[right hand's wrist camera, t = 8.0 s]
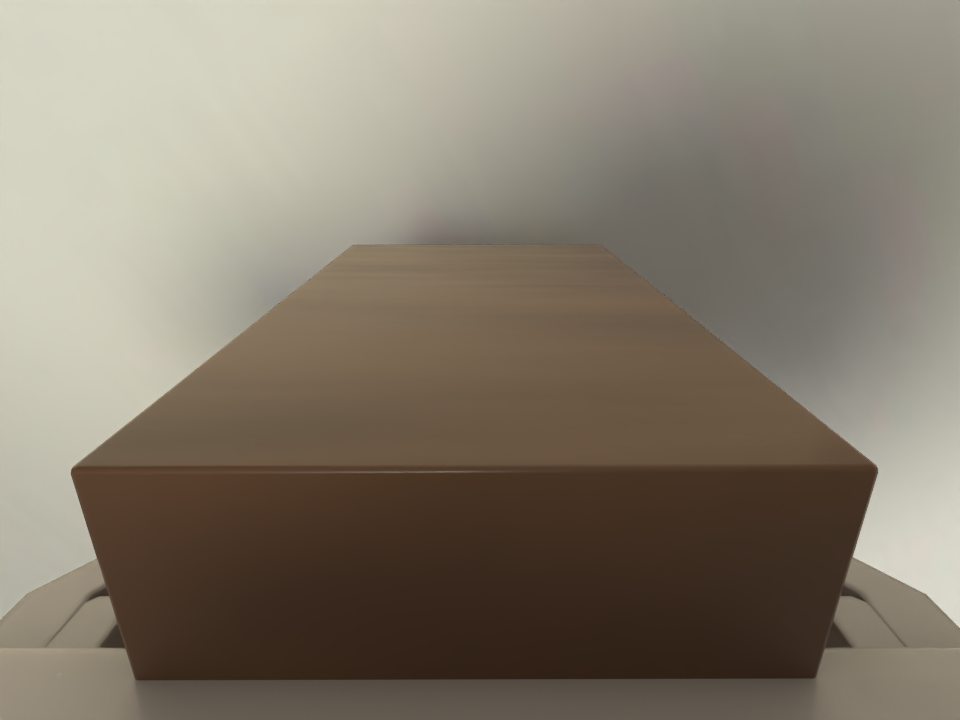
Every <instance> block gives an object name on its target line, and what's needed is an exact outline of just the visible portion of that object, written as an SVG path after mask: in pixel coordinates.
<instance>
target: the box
mask: <svg viewBox="0 0 960 720" xmlns="http://www.w3.org/2000/svg"><path fill="white" fill-rule="evenodd" d="M877 474H878V468H877V466H876V465H875V464H874V463H873V462H871V461H870V460H869V459H868V458H866V457H865V456H864V455H863V454H861V453H860V452H859V451H858V450H856V449H855V448H854V447H853V446H851V445H850V444H849V443H848V442H846V441H845V440H844V439H843V438H841V437H840V436H839V435H838V434H836V433H835V432H834V431H833V430H831V429H830V428H829V427H828V426H826V425H825V424H824V423H823V422H821V421H820V420H819V419H818V418H816V417H815V416H814V415H813V414H811V413H810V412H809V411H808V410H806V409H805V408H804V407H803V406H801V405H800V404H799V403H798V402H796V401H795V400H794V399H793V398H792V397H790V396H789V395H788V394H787V393H785V392H784V391H783V390H782V389H780V388H779V387H778V386H777V385H775V384H774V383H773V382H772V381H770V380H769V379H768V378H767V377H765V376H764V375H763V374H762V373H760V372H759V371H758V370H757V369H755V368H754V367H753V366H752V365H750V364H749V363H748V362H747V361H745V360H744V359H743V358H742V357H740V356H739V355H738V354H737V353H735V352H734V351H733V350H732V349H730V348H729V347H728V346H727V345H725V344H724V343H723V342H722V341H720V340H719V339H718V338H717V337H715V336H714V335H713V334H712V333H710V332H709V331H708V330H707V329H705V328H704V327H703V326H702V325H700V324H699V323H698V322H697V321H695V320H694V319H693V318H692V317H690V316H689V315H688V314H687V313H685V312H684V311H683V310H682V309H680V308H679V307H678V306H677V305H675V304H674V303H673V302H672V301H670V300H669V299H668V298H667V297H665V296H664V295H663V294H662V293H660V292H659V291H658V290H657V289H655V288H654V287H653V286H652V285H650V284H649V283H648V282H647V281H645V280H644V279H643V278H642V277H641V276H639V275H638V274H637V273H636V272H634V271H633V270H632V269H631V268H629V267H628V266H627V265H626V264H624V263H623V262H622V261H621V260H619V259H618V258H617V257H616V256H614V255H613V254H612V253H611V252H609V251H608V250H607V249H606V248H604V247H603V246H602V245H353V246H351V247H350V248H349V249H347V250H346V251H345V252H344V253H342V254H341V255H340V256H339V257H337V258H336V259H335V260H334V261H332V262H331V263H330V264H329V265H327V266H326V267H325V268H324V269H322V270H321V271H320V272H318V273H317V274H316V275H315V276H313V277H312V278H311V279H310V280H308V281H307V282H306V283H305V284H303V285H302V286H301V287H300V288H298V289H297V290H296V291H294V292H293V293H292V294H291V295H289V296H288V297H287V298H286V299H284V300H283V301H282V302H281V303H279V304H278V305H277V306H276V307H274V308H273V309H272V310H270V311H269V312H268V313H267V314H265V315H264V316H263V317H262V318H260V319H259V320H258V321H257V322H255V323H254V324H253V325H252V326H250V327H249V328H248V329H247V330H245V331H244V332H243V333H241V334H240V335H239V336H238V337H236V338H235V339H234V340H233V341H231V342H230V343H229V344H228V345H226V346H225V347H224V348H223V349H221V350H220V351H219V352H217V353H216V354H215V355H214V356H212V357H211V358H210V359H209V360H207V361H206V362H205V363H204V364H202V365H201V366H200V367H199V368H197V369H196V370H195V371H194V372H192V373H191V374H190V375H188V376H187V377H186V378H185V379H183V380H182V381H181V382H180V383H178V384H177V385H176V386H175V387H173V388H172V389H171V390H170V391H168V392H167V393H166V394H164V395H163V396H162V397H161V398H159V399H158V400H157V401H156V402H154V403H153V404H152V405H151V406H149V407H148V408H147V409H146V410H144V411H143V412H142V413H140V414H139V415H138V416H137V417H135V418H134V419H133V420H132V421H130V422H129V423H128V424H127V425H125V426H124V427H123V428H122V429H120V430H119V431H118V432H117V433H115V434H114V435H113V436H111V437H110V438H109V439H108V440H106V441H105V442H104V443H103V444H101V445H100V446H99V447H98V448H96V449H95V450H94V451H93V452H91V453H90V454H89V455H87V456H86V457H85V458H84V459H82V460H81V461H80V462H79V463H77V464H76V465H75V466H74V467H73V468H72V470H71V476H72V479H73V482H74V486H75V489H76V492H77V495H78V498H79V502H80V505H81V508H82V511H83V514H84V518H85V521H86V524H87V527H88V530H89V534H90V537H91V540H92V543H93V546H94V550H95V553H96V556H97V559H98V562H99V566H100V569H101V572H102V575H103V578H104V582H105V585H106V588H107V591H108V595H109V598H110V601H111V604H112V607H113V611H114V614H115V617H116V620H117V623H118V627H119V630H120V633H121V636H122V639H123V643H124V646H125V649H126V652H127V655H128V659H129V662H130V665H131V668H132V671H133V675H134V678H135V679H136V680H457V679H813V678H815V677H816V676H817V672H818V669H819V666H820V663H821V659H822V656H823V653H824V649H825V646H826V643H827V639H828V636H829V633H830V630H831V626H832V623H833V620H834V616H835V613H836V610H837V606H838V603H839V600H840V596H841V593H842V590H843V587H844V583H845V580H846V577H847V573H848V570H849V567H850V563H851V560H852V557H853V554H854V550H855V547H856V544H857V540H858V537H859V534H860V530H861V527H862V524H863V520H864V517H865V514H866V511H867V507H868V504H869V501H870V497H871V494H872V491H873V487H874V484H875V481H876V477H877Z"/></svg>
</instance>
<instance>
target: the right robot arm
mask: <svg viewBox="0 0 960 720" xmlns="http://www.w3.org/2000/svg"><path fill="white" fill-rule="evenodd" d="M0 720H960V628H959V627H958V626H957V625H956V624H955V623H954V622H953V621H952V620H951V619H950V618H949V617H948V616H947V615H946V614H945V613H944V612H943V611H942V610H941V609H940V608H939V607H938V606H937V605H936V604H935V603H934V602H933V601H932V600H931V599H930V598H929V597H928V596H927V595H926V594H924V593H922V592H920V591H918V590H916V589H914V588H912V587H910V586H908V585H906V584H904V583H902V582H900V581H898V580H897V579H895V578H893V577H891V576H889V575H887V574H885V573H883V572H881V571H879V570H877V569H875V568H873V567H871V566H869V565H867V564H865V563H863V562H861V561H859V560H857V559H855V558H853V557H852V560H851V563H850V567H849V570H848V573H847V577H846V580H845V583H844V587H843V590H842V593H841V596H840V600H839V603H838V606H837V610H836V613H835V616H834V620H833V623H832V626H831V630H830V633H829V636H828V639H827V643H826V646H825V649H824V653H823V656H822V659H821V663H820V666H819V669H818V672H817V676H816V677H815V678H813V679H457V680H136V679H135V678H134V675H133V671H132V668H131V665H130V662H129V659H128V655H127V652H126V649H125V646H124V643H123V639H122V636H121V633H120V630H119V627H118V623H117V620H116V617H115V614H114V611H113V607H112V604H111V601H110V598H109V595H108V591H107V588H106V585H105V582H104V578H103V575H102V572H101V569H100V566H99V562H98V559H96V560H94V561H92V562H90V563H88V564H86V565H84V566H82V567H80V568H78V569H76V570H74V571H72V572H70V573H68V574H66V575H64V576H62V577H60V578H58V579H56V580H54V581H52V582H50V583H48V584H46V585H44V586H42V587H40V588H38V589H36V590H34V591H32V592H30V593H28V594H27V595H26V596H25V597H24V598H23V599H22V600H21V601H20V602H18V603H17V604H16V605H15V606H14V607H13V608H12V609H11V610H10V611H9V612H8V613H7V614H6V615H5V616H4V617H3V618H2V619H1V620H0Z"/></svg>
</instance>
